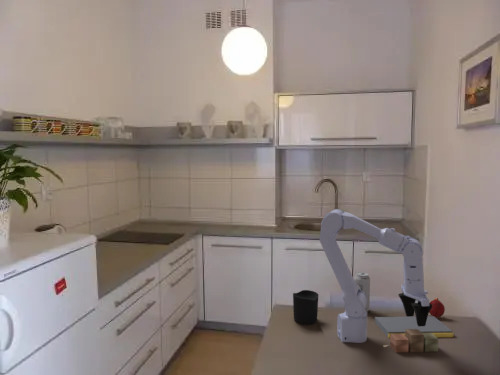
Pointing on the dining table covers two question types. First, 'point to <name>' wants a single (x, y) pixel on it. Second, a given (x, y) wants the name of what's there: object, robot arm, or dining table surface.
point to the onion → (437, 308)
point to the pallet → (414, 340)
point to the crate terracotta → (399, 342)
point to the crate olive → (430, 342)
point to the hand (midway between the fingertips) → (415, 320)
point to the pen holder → (305, 307)
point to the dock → (412, 326)
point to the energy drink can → (363, 285)
